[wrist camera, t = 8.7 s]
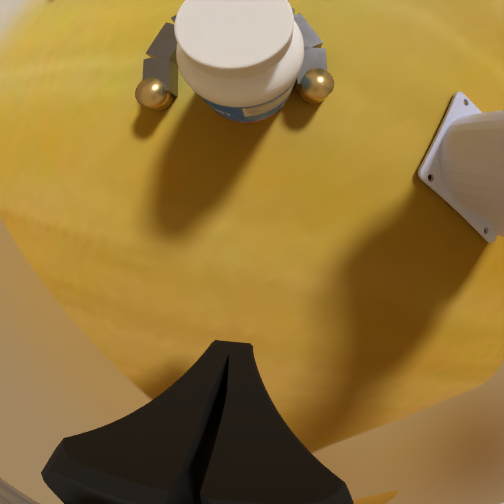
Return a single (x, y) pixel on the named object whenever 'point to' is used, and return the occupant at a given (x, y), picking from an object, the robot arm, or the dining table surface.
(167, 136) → the dining table surface
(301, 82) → the snap ring
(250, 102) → the pill bottle
